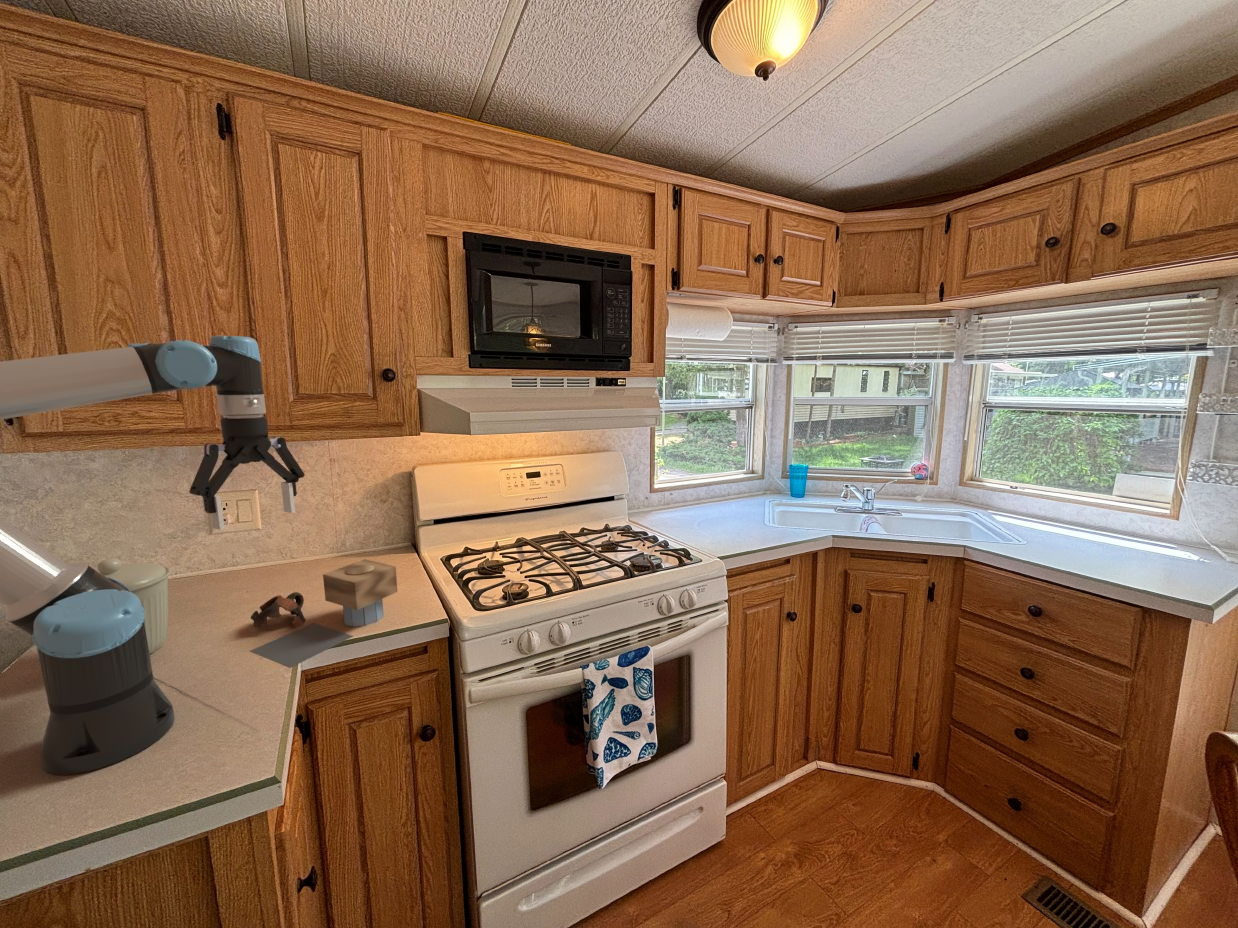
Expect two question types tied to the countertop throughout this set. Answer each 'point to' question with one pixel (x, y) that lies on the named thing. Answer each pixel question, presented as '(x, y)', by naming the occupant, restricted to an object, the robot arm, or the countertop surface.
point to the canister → (144, 593)
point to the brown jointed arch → (272, 609)
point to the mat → (301, 644)
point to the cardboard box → (360, 584)
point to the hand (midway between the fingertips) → (256, 519)
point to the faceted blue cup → (363, 614)
